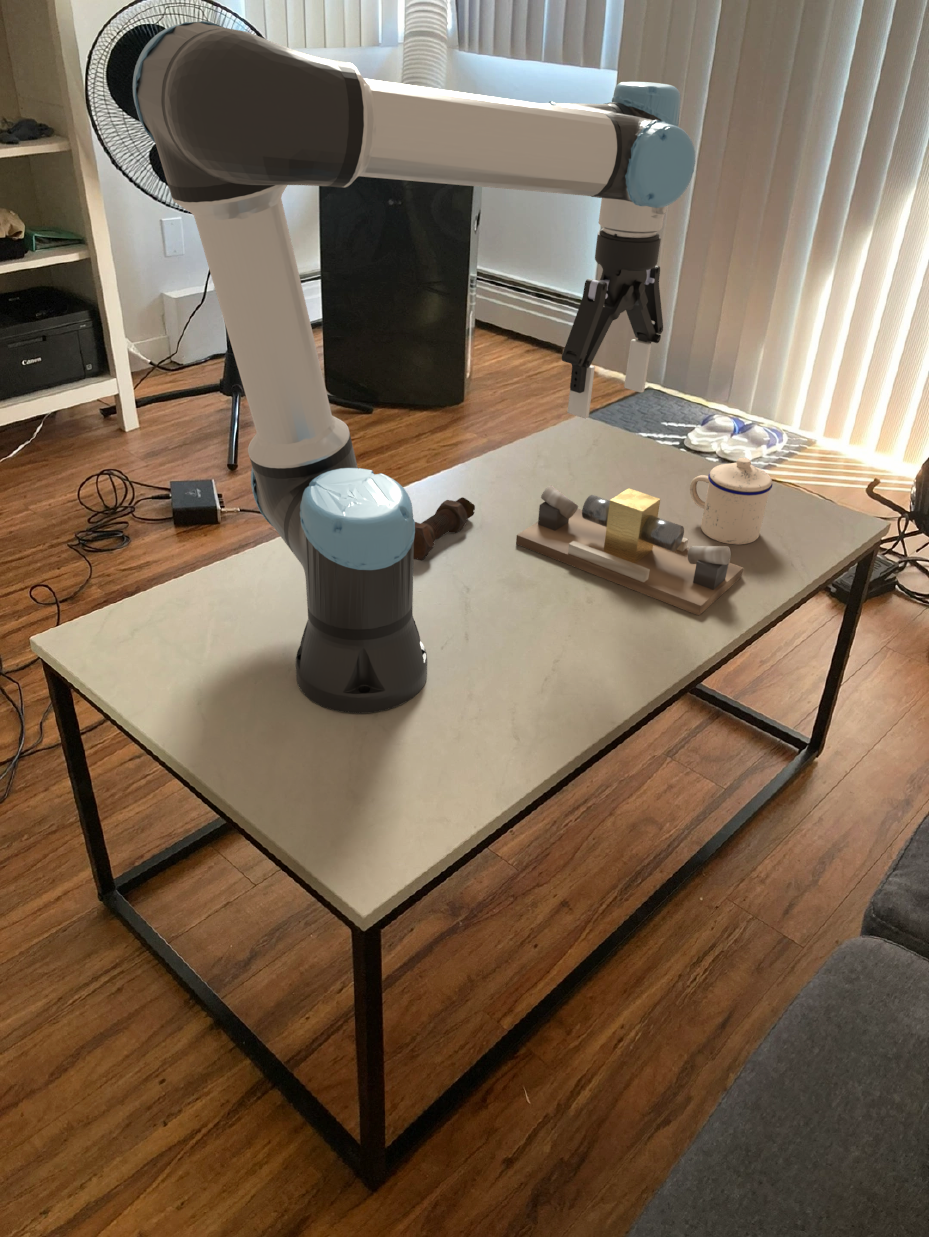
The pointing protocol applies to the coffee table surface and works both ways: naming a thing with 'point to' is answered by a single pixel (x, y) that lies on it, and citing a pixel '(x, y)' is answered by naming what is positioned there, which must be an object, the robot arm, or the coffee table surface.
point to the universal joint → (632, 524)
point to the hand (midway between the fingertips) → (606, 402)
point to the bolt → (441, 525)
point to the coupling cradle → (659, 574)
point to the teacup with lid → (733, 501)
